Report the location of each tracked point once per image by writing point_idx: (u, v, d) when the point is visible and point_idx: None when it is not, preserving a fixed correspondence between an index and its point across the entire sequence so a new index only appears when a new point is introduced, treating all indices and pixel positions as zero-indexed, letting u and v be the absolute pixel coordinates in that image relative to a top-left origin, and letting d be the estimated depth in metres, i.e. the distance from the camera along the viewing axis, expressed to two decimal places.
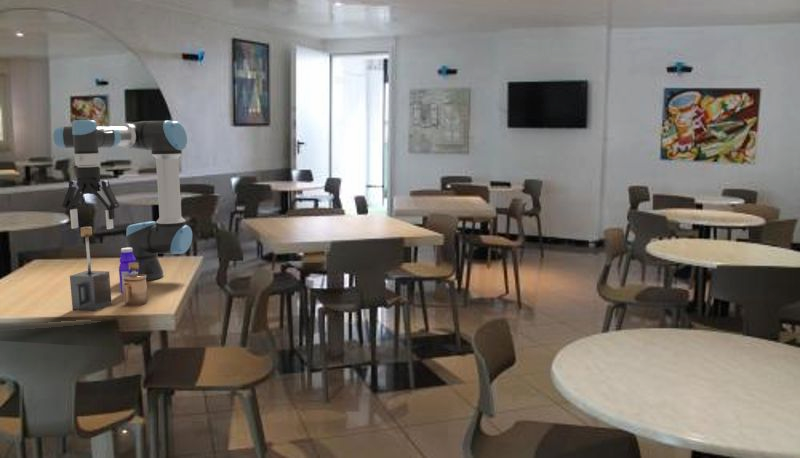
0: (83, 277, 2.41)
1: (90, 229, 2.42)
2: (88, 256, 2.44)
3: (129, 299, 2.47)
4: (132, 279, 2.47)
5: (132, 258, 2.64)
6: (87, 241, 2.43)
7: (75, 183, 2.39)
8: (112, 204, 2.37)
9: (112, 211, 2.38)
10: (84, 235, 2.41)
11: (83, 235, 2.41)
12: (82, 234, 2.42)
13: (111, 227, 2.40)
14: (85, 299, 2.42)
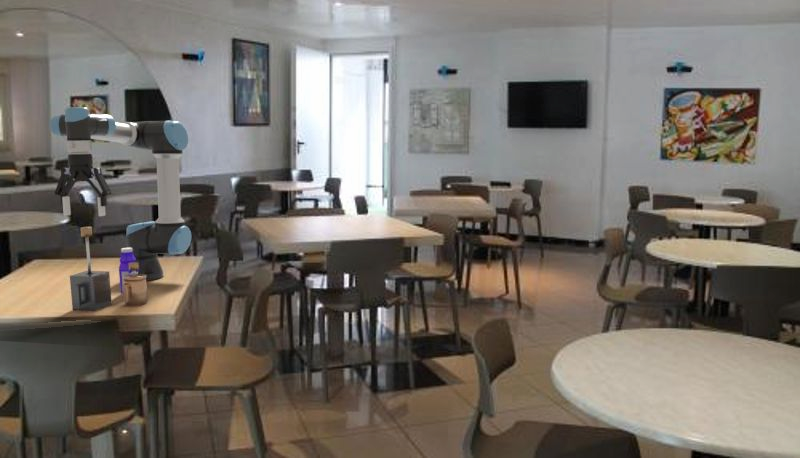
0: (83, 277, 2.41)
1: (90, 229, 2.42)
2: (88, 256, 2.44)
3: (129, 299, 2.47)
4: (132, 279, 2.47)
5: (132, 258, 2.64)
6: (87, 241, 2.43)
7: (67, 170, 2.40)
8: (104, 191, 2.38)
9: (104, 198, 2.39)
10: (84, 235, 2.41)
11: (83, 235, 2.41)
12: (82, 234, 2.42)
13: (103, 214, 2.41)
14: (85, 299, 2.42)
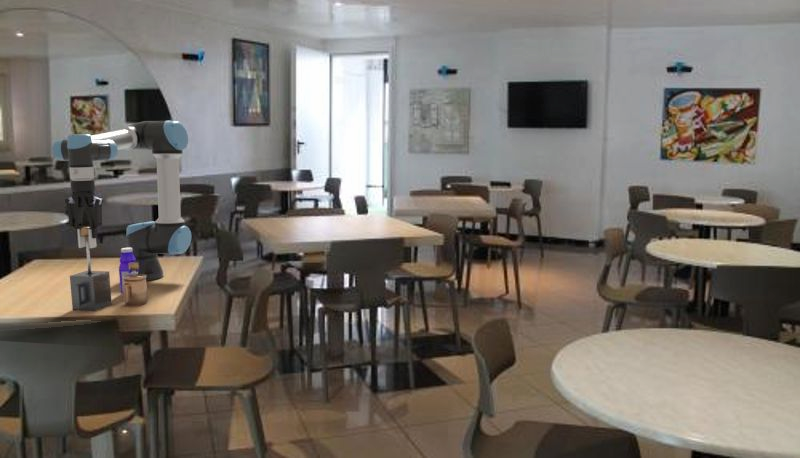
0: (83, 277, 2.41)
1: None
2: (88, 256, 2.44)
3: (129, 299, 2.47)
4: (132, 279, 2.47)
5: (132, 258, 2.64)
6: (87, 241, 2.43)
7: (71, 199, 2.42)
8: (96, 223, 2.40)
9: (95, 230, 2.42)
10: (84, 235, 2.41)
11: (83, 235, 2.41)
12: (82, 234, 2.42)
13: (94, 246, 2.43)
14: (85, 299, 2.42)
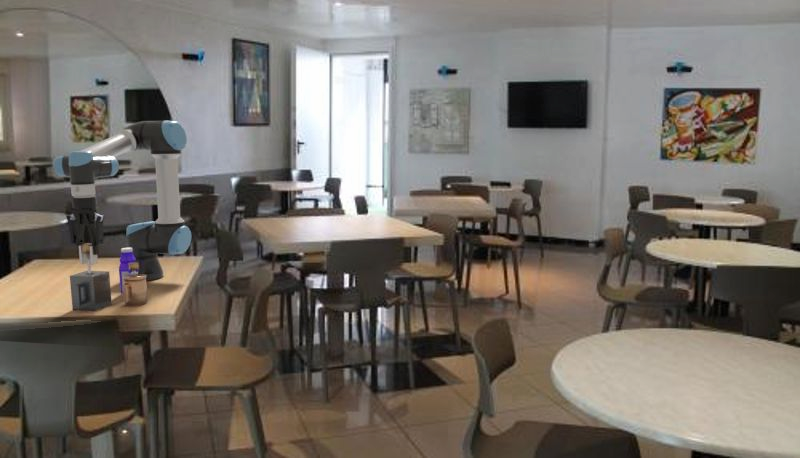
0: (83, 277, 2.41)
1: None
2: (89, 272, 2.45)
3: (129, 299, 2.47)
4: (132, 279, 2.47)
5: (132, 258, 2.64)
6: (88, 258, 2.44)
7: (72, 215, 2.43)
8: (97, 240, 2.41)
9: (96, 247, 2.43)
10: (85, 252, 2.42)
11: (84, 252, 2.42)
12: (83, 251, 2.42)
13: (95, 262, 2.44)
14: (85, 299, 2.42)
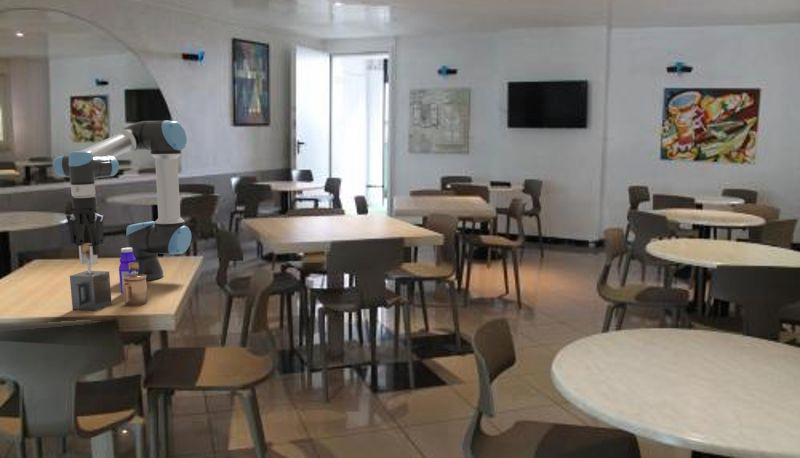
0: (83, 277, 2.41)
1: None
2: (89, 272, 2.45)
3: (129, 299, 2.47)
4: (132, 279, 2.47)
5: (132, 258, 2.64)
6: (88, 258, 2.44)
7: (72, 215, 2.43)
8: (97, 240, 2.41)
9: (96, 247, 2.43)
10: (85, 252, 2.42)
11: (84, 252, 2.42)
12: (83, 251, 2.42)
13: (95, 262, 2.44)
14: (85, 299, 2.42)
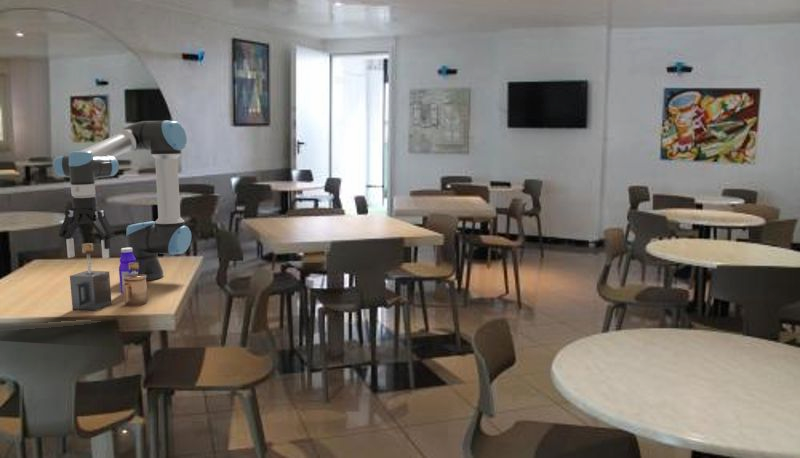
0: (83, 277, 2.41)
1: (91, 246, 2.43)
2: (89, 272, 2.45)
3: (129, 299, 2.47)
4: (132, 279, 2.47)
5: (132, 258, 2.64)
6: (88, 258, 2.44)
7: (71, 213, 2.43)
8: (108, 234, 2.40)
9: (108, 241, 2.41)
10: (85, 252, 2.42)
11: (84, 252, 2.42)
12: (83, 251, 2.42)
13: (107, 256, 2.43)
14: (85, 299, 2.42)
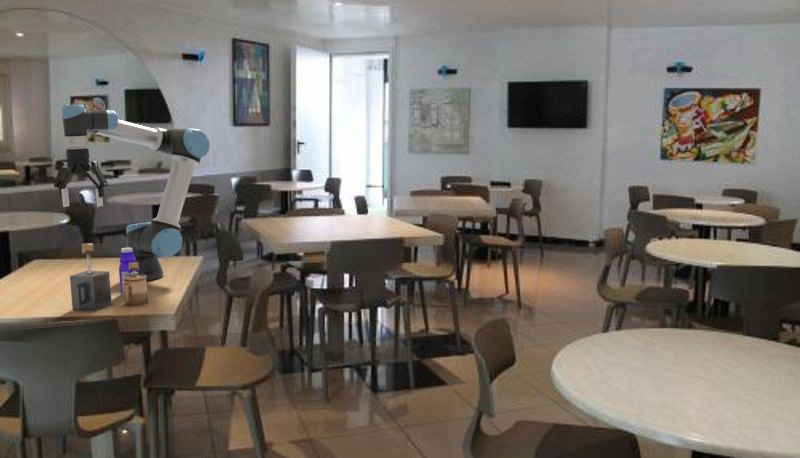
0: (83, 277, 2.41)
1: (91, 246, 2.43)
2: (89, 272, 2.45)
3: (129, 299, 2.47)
4: (132, 279, 2.47)
5: (132, 258, 2.64)
6: (88, 258, 2.44)
7: (65, 164, 2.56)
8: (101, 183, 2.54)
9: (102, 190, 2.56)
10: (85, 252, 2.42)
11: (84, 252, 2.42)
12: (83, 251, 2.42)
13: (101, 205, 2.57)
14: (85, 299, 2.42)
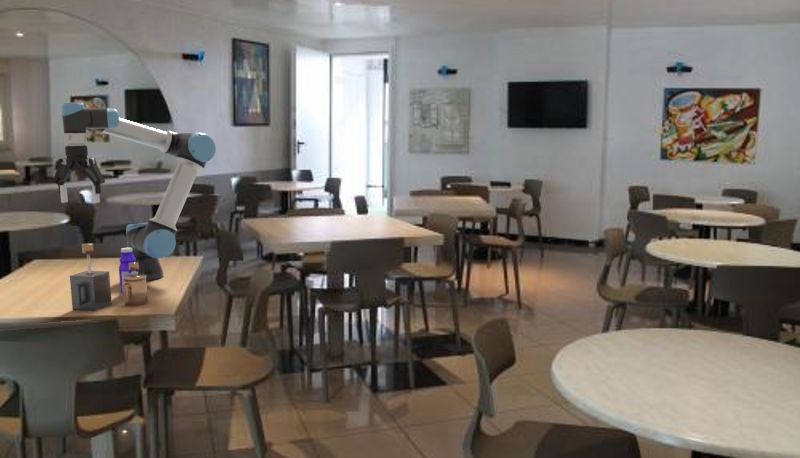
0: (83, 277, 2.41)
1: (91, 246, 2.43)
2: (89, 272, 2.45)
3: (129, 299, 2.47)
4: (132, 279, 2.47)
5: (132, 258, 2.64)
6: (88, 258, 2.44)
7: (64, 161, 2.61)
8: (98, 180, 2.58)
9: (98, 186, 2.60)
10: (85, 252, 2.42)
11: (84, 252, 2.42)
12: (83, 251, 2.42)
13: (97, 201, 2.61)
14: (85, 299, 2.42)
